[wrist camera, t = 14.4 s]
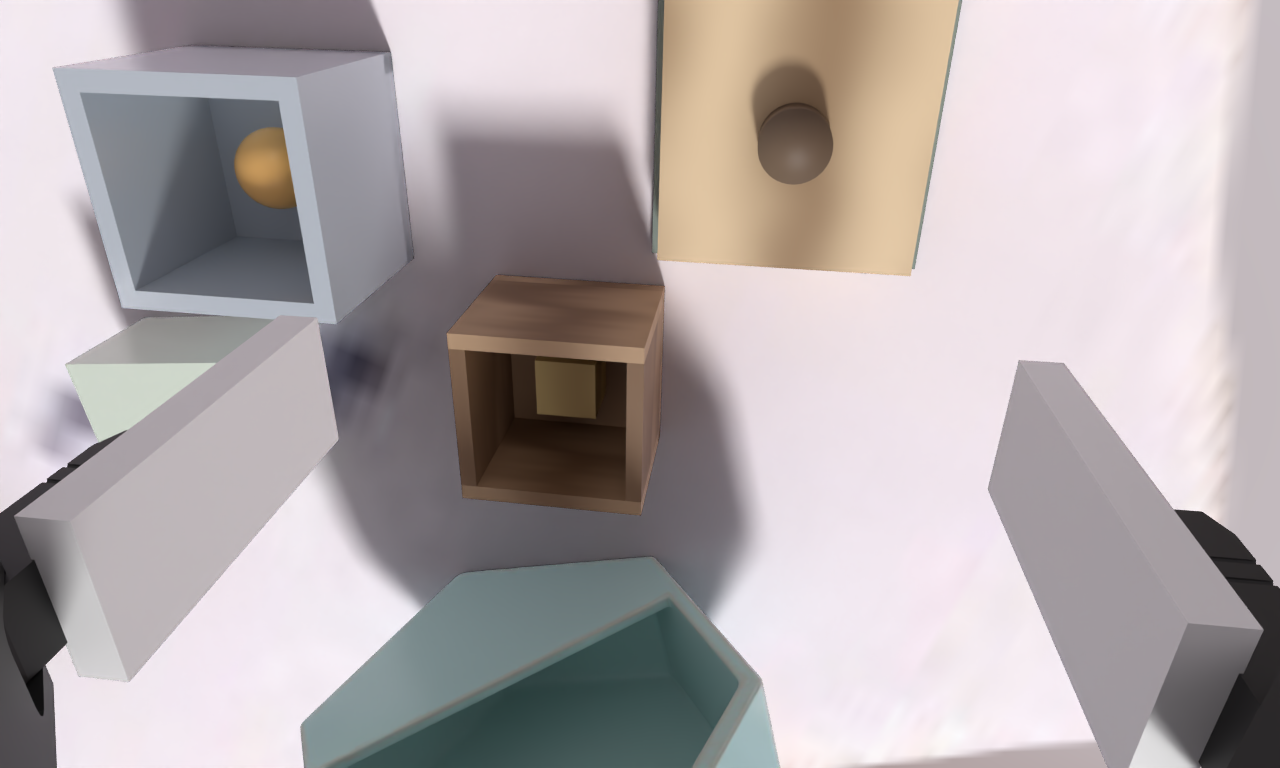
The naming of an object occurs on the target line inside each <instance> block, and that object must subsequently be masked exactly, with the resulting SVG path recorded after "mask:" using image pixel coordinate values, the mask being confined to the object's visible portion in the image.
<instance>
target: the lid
mask: <svg viewBox="0 0 1280 768" xmlns="http://www.w3.org/2000/svg"><path fill="white" fill-rule="evenodd" d="M958 2H959V0H664V34H663V70H662V106H661V142H660V179H659V215H658V251H657V260H664V261H679V262H695V263H711V264H727V265H743V266H759V267H775V268H790V269H806V270H822V271H838V272H854V273H870V274H885V275H901V276H911V270H912V264H913V259H914V253H915V247H916V242H917V236H918V230H919V224H920V219H921V213H922V207H923V202H924V196H925V190H926V185H927V179H928V173H929V167H930V162H931V156H932V150H933V145H934V139H935V133H936V128H937V122H938V116H939V111H940V105H941V99H942V93H943V88H944V82H945V76H946V71H947V65H948V59H949V54H950V48H951V42H952V36H953V31H954V25H955V19H956V14H957V8H958Z"/></svg>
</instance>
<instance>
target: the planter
mask: <svg viewBox="0 0 1280 768" xmlns="http://www.w3.org/2000/svg"><path fill="white" fill-rule="evenodd" d="M300 728H301V741H302V751H303V761H304V768H780V764H779V759H778V754H777V749H776V745H775V740H774V735H773V730H772V725H771V720H770V716H769V711H768V706H767V701H766V696H765V692H764V687H763V682H762V679H761V678H760V676H759V675H758V674H757V673H756V672H755V671H754V669H753V668H752V667H751V666H750V665H749V664H748V663H747V662H746V660H745V659H744V658H743V657H742V656H741V655H740V654H739V652H738V651H737V650H736V649H735V648H734V647H733V646H732V644H731V643H730V642H729V641H728V640H727V639H726V638H725V637H724V635H723V634H722V633H721V632H720V631H719V630H718V629H717V627H716V626H715V625H714V624H713V623H712V622H711V621H710V620H709V618H708V617H707V616H706V615H705V614H704V613H703V612H702V610H701V609H700V608H699V607H698V606H697V605H696V604H695V603H694V601H693V600H692V599H691V598H690V597H689V596H688V595H687V593H686V592H685V591H684V590H683V589H682V588H681V587H680V586H679V584H678V583H677V582H676V581H675V580H674V579H673V578H672V576H671V575H670V574H669V573H668V572H667V571H666V570H665V569H664V567H663V566H662V565H661V564H660V563H659V562H658V561H657V560H656V559H655V558H654V557H638V558H627V559H615V560H603V561H591V562H579V563H567V564H555V565H544V566H532V567H520V568H509V569H497V570H486V571H475V572H466V573H462V574H460V575H458V576H457V577H455V578H454V579H453V580H452V581H451V582H450V583H449V584H448V585H447V586H446V587H445V588H443V589H442V590H441V591H440V592H439V593H438V594H437V595H436V596H435V597H434V598H433V599H432V600H431V601H430V602H429V603H428V604H426V605H425V606H424V607H423V608H422V609H421V610H420V611H419V612H418V613H417V614H416V615H415V616H414V617H413V618H412V619H411V620H410V621H409V622H408V623H406V624H405V625H404V626H403V627H402V628H401V629H400V630H399V631H398V632H397V633H396V634H395V635H394V636H393V637H392V638H391V639H390V640H389V641H388V642H386V643H385V644H384V645H383V646H382V647H381V648H380V649H379V650H378V651H377V652H376V653H375V654H374V655H373V656H372V657H371V658H370V659H369V660H368V661H366V662H365V663H364V664H363V665H362V666H361V667H360V668H359V669H358V670H357V671H356V672H355V673H354V674H353V675H352V676H351V677H350V678H349V679H348V680H347V681H345V682H344V683H343V684H342V685H341V686H340V687H339V688H338V689H337V690H336V691H335V692H334V693H333V694H332V695H331V696H330V697H329V698H328V699H327V700H326V701H324V702H323V703H322V704H321V705H320V706H319V707H318V708H317V709H316V710H315V711H314V712H313V713H312V714H311V715H310V716H309V717H308V718H307V719H306V720H305V721H304V722H303V723H302V724H301V727H300Z"/></svg>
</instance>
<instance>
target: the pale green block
mask: <svg viewBox="0 0 1280 768" xmlns="http://www.w3.org/2000/svg"><path fill="white" fill-rule="evenodd" d="M273 320H274V319H261V318H247V317H234V316H193V317H145V318H143V319H141V320H140V321H138V322H136V323H134V324H133V325H131V326H129V327H128V328H126V329H124V330H123V331H121V332H119V333H117V334H116V335H114V336H112V337H111V338H109V339H107V340H106V341H104V342H102V343H100V344H99V345H97V346H95V347H94V348H92V349H90V350H89V351H87V352H85V353H83V354H82V355H80V356H78V357H77V358H75V359H73V360H72V361H70V362H68V363H66V364H65V366H66V368H67V370H68V373H69V375H70V377H71V380H72V382H73V384H74V386H75V389H76V391H77V393H78V396H79V398H80V400H81V403H82V405H83V407H84V410H85V412H86V414H87V417H88V419H89V421H90V424H91V426H92V428H93V431H94V433H95V435H96V438H97V440H98V442H101V441H103V440H105V439H107V438H110V437H112V436H114V435H116V434H118V433H121V432H123V431H125V430H129V429H130V428H131V427H133V426H134V425H135V424H137V423H138V422H139V421H141V420H142V419H143V418H145V417H146V416H147V415H148V414H150V413H151V412H152V411H154V410H155V409H156V408H158V407H159V406H160V405H162V404H163V403H164V402H166V401H167V400H168V399H170V398H171V397H172V396H174V395H175V394H176V393H178V392H179V391H180V390H182V389H183V388H184V387H186V386H187V385H188V384H190V383H191V382H192V381H194V380H195V379H196V378H198V377H199V376H200V375H201V374H203V373H204V372H205V371H207V370H208V369H209V368H211V367H212V366H213V365H215V364H216V363H217V362H219V361H220V360H221V359H223V358H224V357H225V356H227V355H228V354H229V353H231V352H232V351H233V350H235V349H236V348H237V347H239V346H240V345H241V344H243V343H244V342H245V341H247V340H248V339H249V338H251V337H252V336H253V335H254V334H256V333H257V332H258V331H260V330H261V329H262V328H264V327H265V326H266V325H268V324H269V323H270V322H272V321H273Z"/></svg>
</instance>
